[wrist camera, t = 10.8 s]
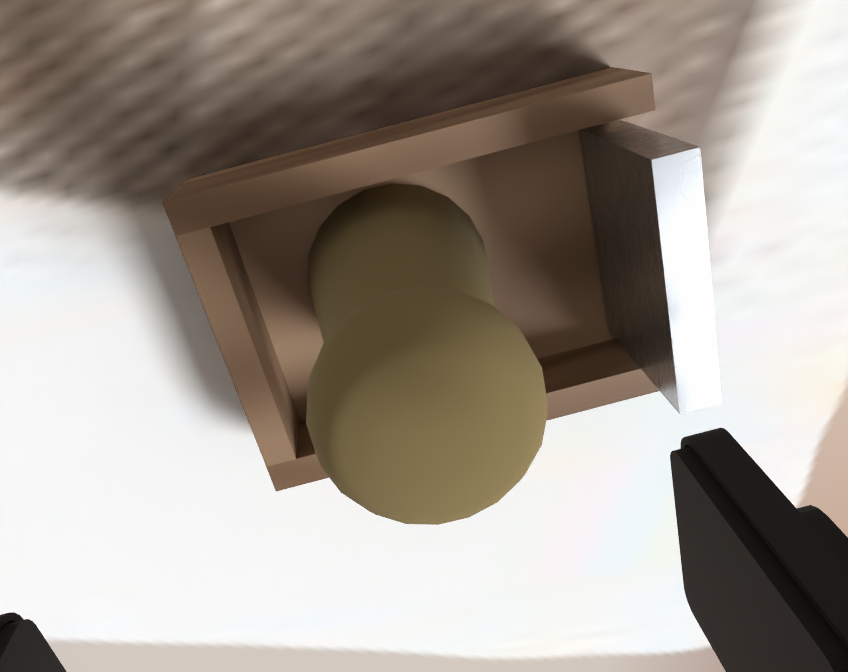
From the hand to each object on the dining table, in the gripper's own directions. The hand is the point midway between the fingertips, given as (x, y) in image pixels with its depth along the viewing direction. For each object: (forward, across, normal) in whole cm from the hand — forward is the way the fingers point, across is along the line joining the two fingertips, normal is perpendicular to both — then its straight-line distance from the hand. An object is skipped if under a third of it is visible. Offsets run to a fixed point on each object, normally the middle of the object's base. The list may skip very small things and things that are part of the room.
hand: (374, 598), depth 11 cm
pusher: (+16, -8, +1) cm, 18 cm away
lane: (+16, -2, +1) cm, 16 cm away
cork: (+15, -1, +1) cm, 15 cm away
